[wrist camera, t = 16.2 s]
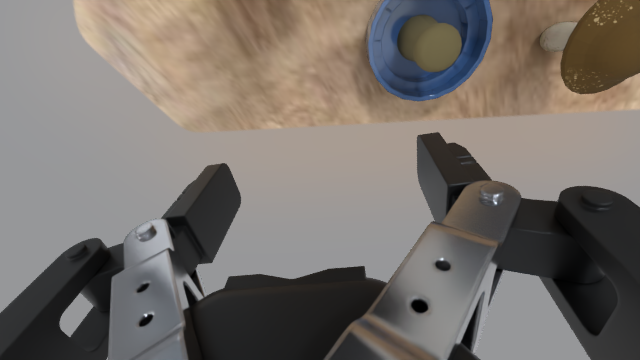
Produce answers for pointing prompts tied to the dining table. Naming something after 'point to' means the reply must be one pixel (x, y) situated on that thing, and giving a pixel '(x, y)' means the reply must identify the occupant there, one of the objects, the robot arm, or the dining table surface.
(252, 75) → the dining table surface
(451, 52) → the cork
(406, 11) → the bowl
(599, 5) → the mushroom
